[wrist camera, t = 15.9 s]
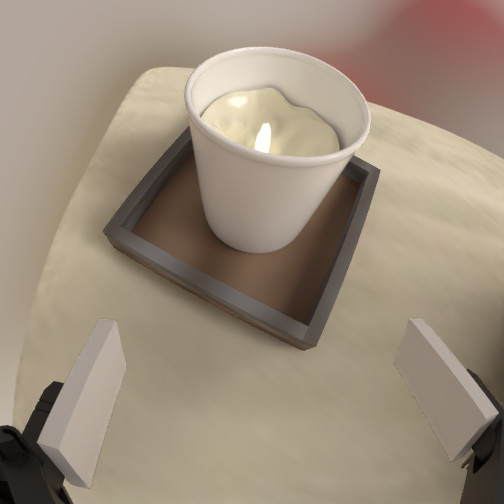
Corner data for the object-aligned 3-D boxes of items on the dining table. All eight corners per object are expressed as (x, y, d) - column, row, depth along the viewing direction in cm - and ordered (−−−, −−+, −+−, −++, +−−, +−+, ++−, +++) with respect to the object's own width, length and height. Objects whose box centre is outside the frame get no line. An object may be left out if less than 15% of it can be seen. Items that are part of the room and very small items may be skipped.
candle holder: (229, 146, 27) (239, 33, 16) (327, 190, 27) (382, 86, 16) (171, 230, 24) (144, 113, 13) (287, 286, 23) (348, 197, 12)
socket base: (368, 187, 29) (380, 170, 26) (303, 350, 22) (315, 346, 19) (217, 118, 30) (218, 96, 27) (114, 247, 24) (102, 230, 21)
